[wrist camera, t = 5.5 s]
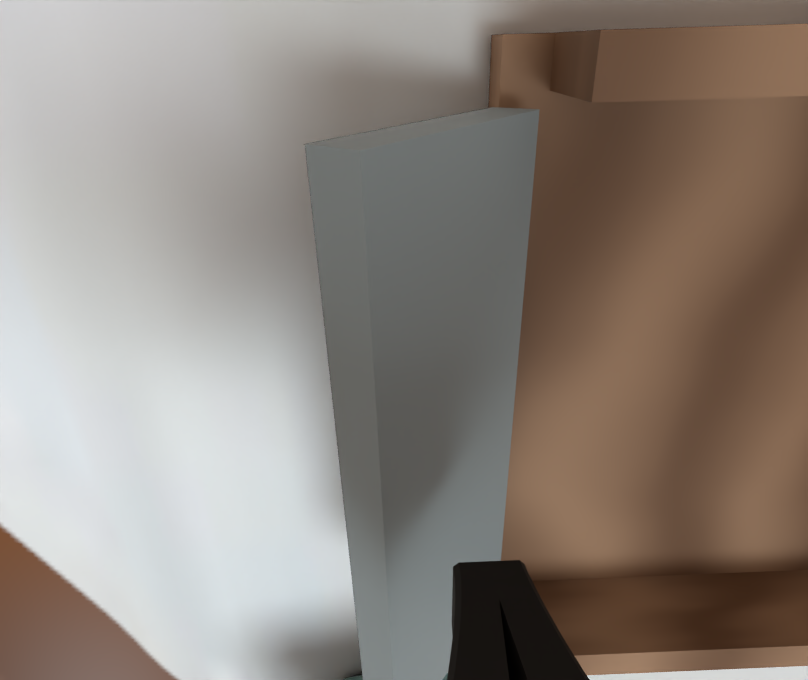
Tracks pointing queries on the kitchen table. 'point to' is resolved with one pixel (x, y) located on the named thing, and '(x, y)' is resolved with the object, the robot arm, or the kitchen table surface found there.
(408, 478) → the panel
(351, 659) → the kitchen table surface
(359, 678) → the flower pot
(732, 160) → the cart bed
